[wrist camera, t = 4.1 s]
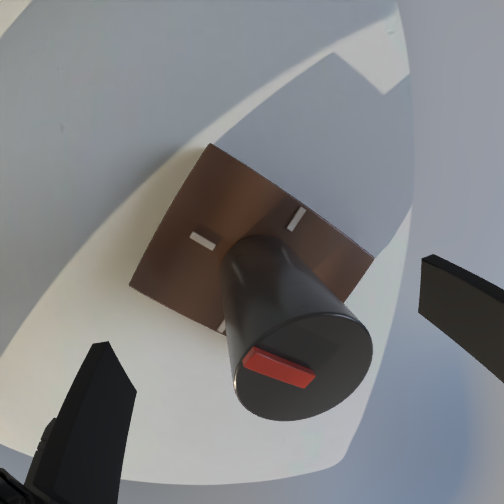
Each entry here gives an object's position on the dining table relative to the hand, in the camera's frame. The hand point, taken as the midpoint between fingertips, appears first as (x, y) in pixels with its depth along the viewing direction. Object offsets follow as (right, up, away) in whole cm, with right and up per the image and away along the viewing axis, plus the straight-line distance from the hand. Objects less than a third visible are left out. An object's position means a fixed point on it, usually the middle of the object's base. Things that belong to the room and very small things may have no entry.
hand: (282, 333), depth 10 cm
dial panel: (-1, +3, +8) cm, 9 cm away
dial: (-1, +2, +6) cm, 6 cm away
